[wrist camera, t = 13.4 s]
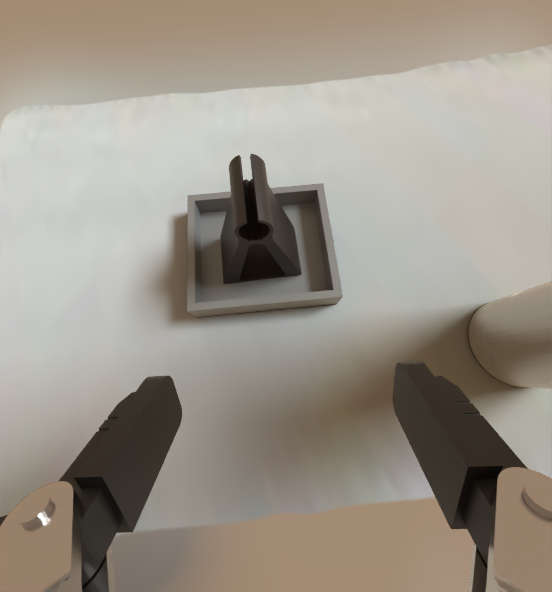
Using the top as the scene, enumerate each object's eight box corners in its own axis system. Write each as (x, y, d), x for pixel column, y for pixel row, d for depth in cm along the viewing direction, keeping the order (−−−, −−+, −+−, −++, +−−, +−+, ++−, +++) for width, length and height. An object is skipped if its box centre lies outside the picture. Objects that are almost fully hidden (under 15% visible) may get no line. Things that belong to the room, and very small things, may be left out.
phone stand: (223, 284, 30) (188, 227, 18) (221, 237, 32) (187, 160, 20) (301, 275, 30) (314, 214, 19) (294, 229, 32) (302, 148, 20)
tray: (319, 199, 34) (322, 183, 31) (336, 304, 30) (342, 296, 27) (195, 210, 34) (187, 195, 31) (196, 317, 30) (186, 311, 27)
